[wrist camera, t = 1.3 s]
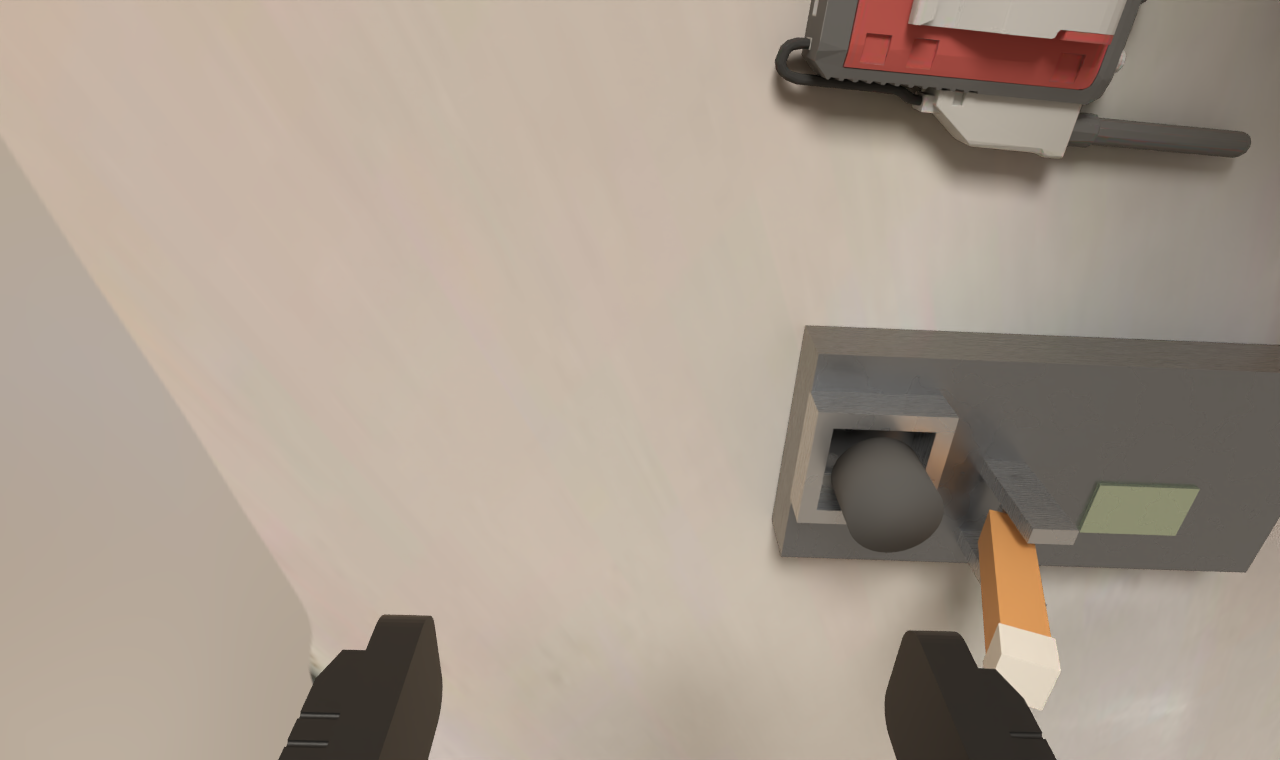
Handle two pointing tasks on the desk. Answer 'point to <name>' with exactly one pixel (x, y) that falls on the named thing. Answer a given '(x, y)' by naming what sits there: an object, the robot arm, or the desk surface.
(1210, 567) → the breaker plate
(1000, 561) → the breaker lever
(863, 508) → the button
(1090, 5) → the walkie-talkie
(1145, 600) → the desk surface
